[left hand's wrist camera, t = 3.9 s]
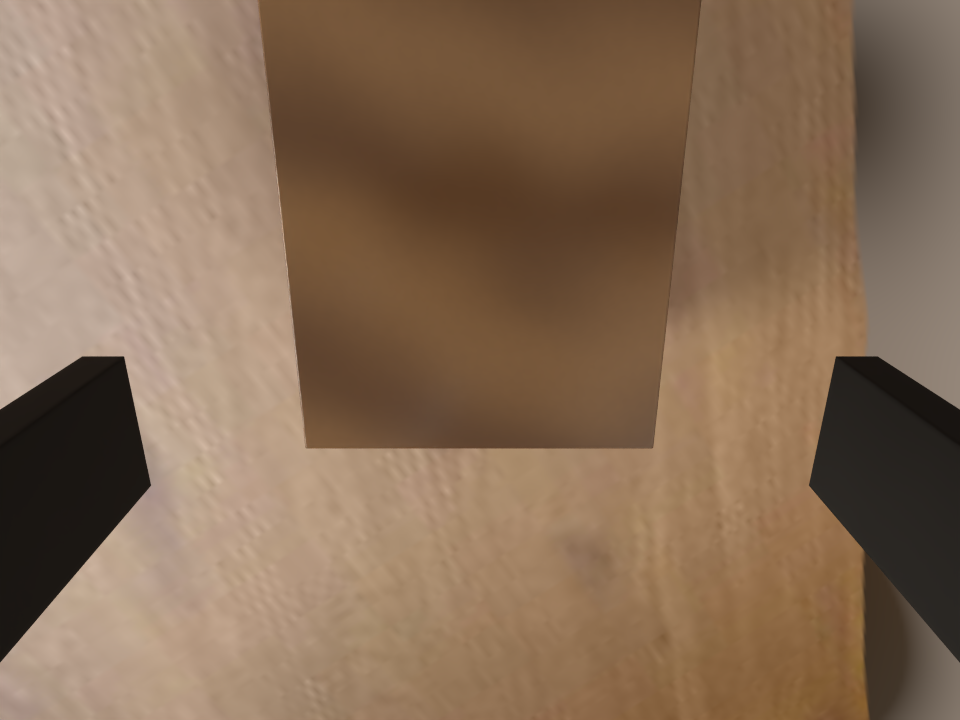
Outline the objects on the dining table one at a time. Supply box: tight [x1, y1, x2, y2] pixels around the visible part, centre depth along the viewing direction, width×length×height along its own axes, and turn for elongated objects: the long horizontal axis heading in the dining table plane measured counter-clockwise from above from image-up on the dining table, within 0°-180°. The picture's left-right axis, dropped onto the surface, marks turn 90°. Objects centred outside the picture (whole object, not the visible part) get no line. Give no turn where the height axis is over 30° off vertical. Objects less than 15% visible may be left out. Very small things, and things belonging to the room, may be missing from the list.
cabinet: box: [258, 0, 701, 448], centre depth 23 cm, size 17×11×10 cm, turn 0°
